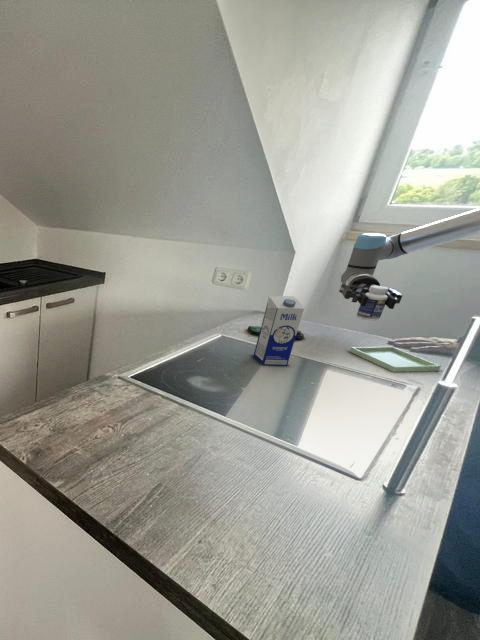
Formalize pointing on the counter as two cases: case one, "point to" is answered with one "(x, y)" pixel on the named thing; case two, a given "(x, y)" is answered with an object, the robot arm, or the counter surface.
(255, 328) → the gun
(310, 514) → the counter surface
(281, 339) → the milk carton
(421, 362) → the tray
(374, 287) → the pill bottle
